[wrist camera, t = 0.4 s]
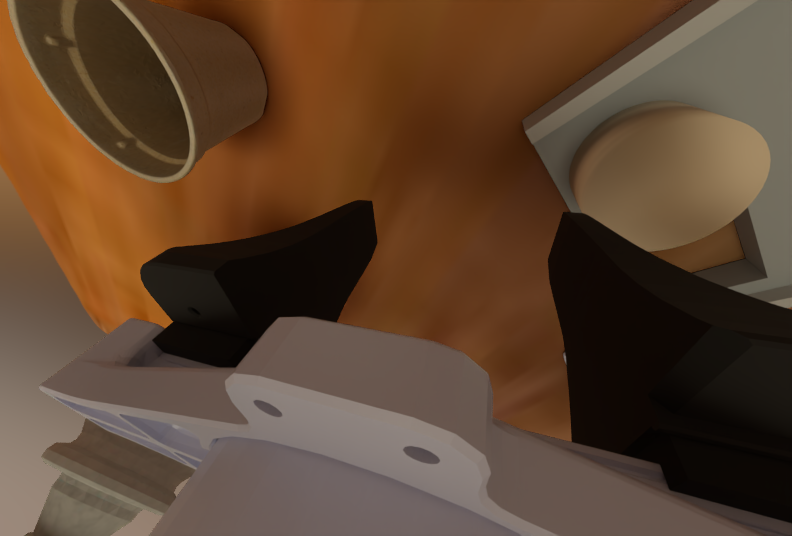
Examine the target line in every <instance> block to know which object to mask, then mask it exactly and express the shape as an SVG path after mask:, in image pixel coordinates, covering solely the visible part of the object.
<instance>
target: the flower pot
mask: <svg viewBox="0 0 792 536" xmlns="http://www.w3.org/2000/svg"><path fill="white" fill-rule="evenodd" d="M7 1H8V10H9V15H10V18H11V21H12V25H13V27H14V31H15V34H16V37H17V39H18V41H19V44H20V46H21V48H22V50H23V52H24V54H25V56H26V58H27V59H28V61H29V63H30V66H31V68H32V69H33V71H34V73H35V74H36V76H37V78H38V79H39V80H40V81H41V83H42V85H43V87H44V88H45V90H46V92H47V93H48V95H49V96H50V97H51V98H52V100H53V101H54V103H55V104H56V105H57V106H58V107H59V109H60V110H61V111H62V113H63V114H64V115H65V116H66V117H67V119H68V120H69V121H70V122H71V123H72V124H73V126H74V127H75V128H76V129H77V130H78V131H79V132H80V133H81V134H82V135H83V136H84V137H85V138H86V139H87V140H88V141H89V142H90V143H91V144H92V145H93V146H94V147H95V148H96V149H97V150H99V151H100V152H101V153H102V154H104V155H105V156H106V157H107V158H109V159H110V160H112V161H113V162H114V163H115V164H117V165H119V166H120V167H122V168H123V169H125V170H127V171H128V172H130V173H133V174H135V175H137V176H138V177H140V178H143V179H146V180H149V181H153V182H159V183H170V182H174V181H177V180H179V179H181V178H183V177H185V176H186V175H187V174H188V173H189V172H190V171H191V170H192V169H193V167H194V165H195V163H196V162H197V161H198V160H200V159H201V158H202V157H203V155H204V153H205V151H207V150H209V149H210V148H212V147H214V146H215V145H217V144H219V143H220V142H222V141H224V140H225V139H227V138H229V137H230V136H232V135H234V134H235V133H237V132H239V131H240V130H242V129H244V128H246V127H247V126H249V125H251V124H253V123H255V122H256V121H258V120H259V119H260V118H261V116H262V115H263V112H264V107H265V102H266V98H267V85H266V80H265V76H264V73H263V70H262V67H261V65H260V63H259V60H258V59H257V57H256V55H255V53H254V51H253V50H252V48H251V47H250V45H249V44H248V43H247V42H246V41H245V39H243V38H242V37H241V36H240V35H238V34H237V33H236V32H235V31H233V30H232V29H231V28H229V27H228V26H227V25H225V24H223V23H221V22H218V21H214V20H210V19H207V18H204V17H200V16H197V15H194V14H190V13H187V12H184V11H181V10H177V9H174V8H171V7H167V6H164V5H161V4H157V3H154V2H151V1H148V0H7Z"/></svg>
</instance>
